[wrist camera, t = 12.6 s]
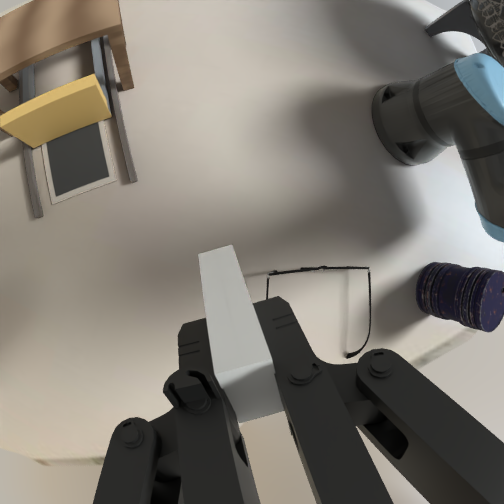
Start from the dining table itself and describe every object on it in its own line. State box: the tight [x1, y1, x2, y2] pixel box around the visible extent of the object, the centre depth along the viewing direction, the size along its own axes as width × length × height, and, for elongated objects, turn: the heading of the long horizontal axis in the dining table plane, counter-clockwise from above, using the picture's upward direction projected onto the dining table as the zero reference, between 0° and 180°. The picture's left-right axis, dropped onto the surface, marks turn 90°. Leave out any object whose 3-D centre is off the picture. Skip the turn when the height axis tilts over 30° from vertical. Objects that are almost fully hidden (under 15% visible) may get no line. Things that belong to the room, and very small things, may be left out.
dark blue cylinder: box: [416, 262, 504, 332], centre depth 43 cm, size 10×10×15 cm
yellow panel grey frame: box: [0, 37, 112, 148], centre depth 28 cm, size 12×16×10 cm
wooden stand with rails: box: [0, 0, 137, 218], centre depth 26 cm, size 20×34×15 cm, turn 17°
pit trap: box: [42, 120, 117, 205], centre depth 34 cm, size 10×12×1 cm
